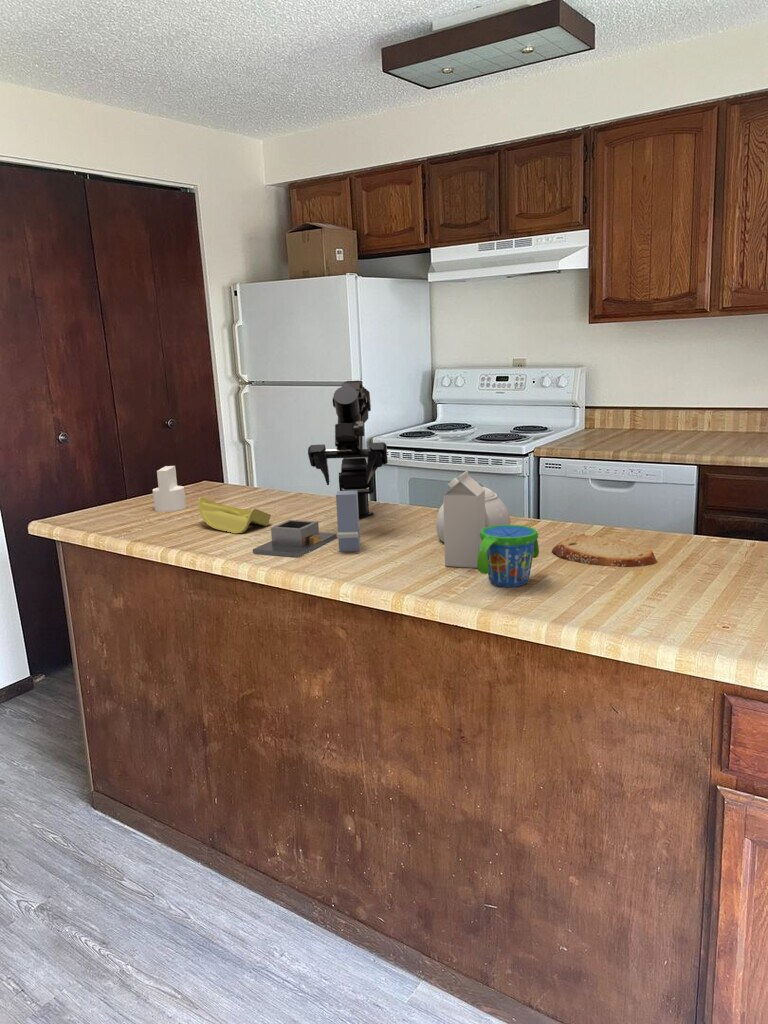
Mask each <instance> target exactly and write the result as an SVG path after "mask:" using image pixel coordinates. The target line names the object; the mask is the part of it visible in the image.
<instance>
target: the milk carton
mask: <svg viewBox="0 0 768 1024" xmlns="http://www.w3.org/2000/svg"><path fill="white" fill-rule="evenodd" d="M478 483H479V482H478ZM478 483H477V481H476V480H474V479H473V478H472V477H471V475H469V470H468V469H467V470H465V471H464V472H462V473H461V474H460V475H459V480H458V478H457V477H454V478H453V479H452V480H451V481H450V482H448V483H447V485H448V486H449V488H450V489H449V490H448V491H447V492H445V493H444V494H443V499H442V501H443V503H442V504H443V507H444V542H443V543H444V565H445V566H444V567H456V568H474V569H475V568H476V569H478V568H477V561H478V555H479V549H480V546H481V543H482V539H481V537H480V532H481V530H482V529H484V528H485V489H484V488H482V487H483V486H481V485H480V483H479V484H478Z"/></svg>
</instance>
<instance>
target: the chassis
mask: <svg viewBox="0 0 768 1024" xmlns="http://www.w3.org/2000/svg"><path fill="white" fill-rule="evenodd" d="M337 534H338V533H335V532H334V533H333V532H320V529H319V521H314V520H313V521H312V520H311V521H310V520H300V519H299V520H295V519H288V520H285V521H283V522H281V523H278V524H276V525H274V526H271V527H270V535H271V537H270V538H271V540H270V541H268V542H265V543H264V544H261V545H259V546H256V547H255V548H252V554H253V553H256V554H255V555H264V554H266V555H265V556H275V555H280V556H279V557H286V556H294V557H293V558H298V557H299V558H301V557H302V555H303V556H305V555H307V554H309V553H310V552H312V551H314V550H316V549H318V548H320V547H321V546H324V545H326V544H327V543H330V542H332V541H334V540H335V539H338V538H337ZM309 551H310V552H309ZM306 553H307V554H306ZM304 554H305V555H304ZM300 556H301V557H300Z"/></svg>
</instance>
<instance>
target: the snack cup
mask: <svg viewBox="0 0 768 1024" xmlns="http://www.w3.org/2000/svg"><path fill="white" fill-rule="evenodd" d="M480 537H481V539H482V543H481V546H480V549H479V555H478V561H477V568H476V569H477V571H478V572H480V573H481V574H483V575H488V580H489V581H490V583H492V584H493V585H495V586H497V587H503V588H512V587H516V588H517V587H520V586H523V585H525V584H527V583H529V582H530V581H529V580H530V576H531V569H532V566H533V559H536V558H538V557H539V554H540V547H539V546H540V545H539V541H538V538H539V533H538V531H537V529H535V528H533V527H530V526H526V525H520V524H518V525H517V524H510V525H497V526H490V527H486V528H484V529H482V530H481V532H480Z"/></svg>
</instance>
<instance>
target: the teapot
mask: <svg viewBox="0 0 768 1024" xmlns="http://www.w3.org/2000/svg"><path fill="white" fill-rule="evenodd" d="M476 482H477V481H476ZM477 483H478V484H479V485H480V483H479V482H477ZM481 487H482V488H484V489H485V528H486V527H490V526H497V525H511V517H510V513H509V510H508V508H507V506H506V504H505V503H504V502H503V501H502V500H501V498H499V496H498V494H497V493H495V492H494V491H493V490H492V489H491V488H488V487H485V486H481ZM435 521H436V522H435V525H436V526H435V527H436V534H437V537H438V538H439V540H440V541H441V542H443V543H444V507H443V503H442V504H441V506H440V508H439V509H438V512H437V515H436V520H435Z"/></svg>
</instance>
